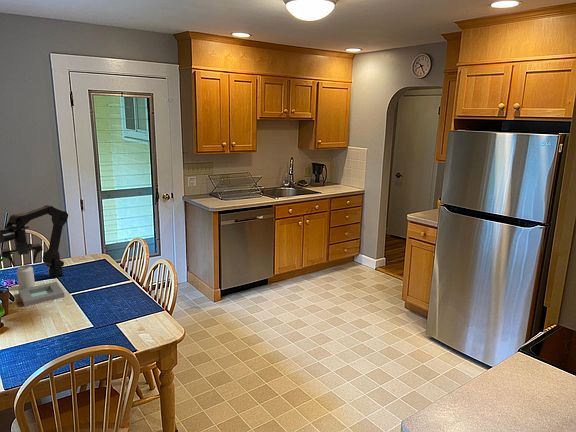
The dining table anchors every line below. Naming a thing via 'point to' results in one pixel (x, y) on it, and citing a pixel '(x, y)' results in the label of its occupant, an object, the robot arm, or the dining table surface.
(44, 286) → the pocket frame
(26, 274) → the can
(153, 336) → the dining table surface
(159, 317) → the dining table surface
